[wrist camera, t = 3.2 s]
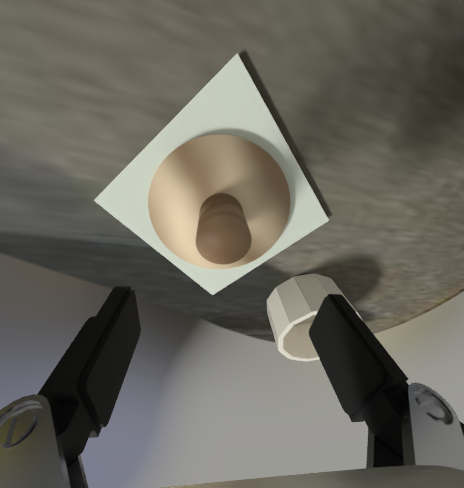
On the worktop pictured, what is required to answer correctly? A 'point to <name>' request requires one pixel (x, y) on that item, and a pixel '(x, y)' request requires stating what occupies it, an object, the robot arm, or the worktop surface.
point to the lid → (219, 201)
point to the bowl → (298, 313)
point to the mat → (209, 123)
